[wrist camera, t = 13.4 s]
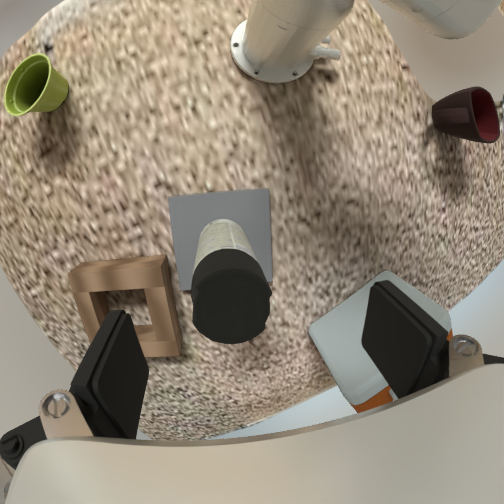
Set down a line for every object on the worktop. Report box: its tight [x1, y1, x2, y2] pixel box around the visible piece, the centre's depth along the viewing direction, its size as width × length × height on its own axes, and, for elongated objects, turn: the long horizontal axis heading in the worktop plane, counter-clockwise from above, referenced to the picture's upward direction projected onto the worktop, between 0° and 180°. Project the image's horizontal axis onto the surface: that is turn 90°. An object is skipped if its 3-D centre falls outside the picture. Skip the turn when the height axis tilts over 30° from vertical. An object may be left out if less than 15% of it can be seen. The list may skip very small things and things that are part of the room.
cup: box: [432, 87, 500, 143], centre depth 33 cm, size 10×14×12 cm
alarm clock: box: [308, 270, 453, 413], centre depth 38 cm, size 18×9×21 cm, turn 125°
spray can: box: [191, 219, 272, 344], centre depth 29 cm, size 7×7×20 cm
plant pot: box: [4, 53, 69, 116], centre depth 25 cm, size 9×9×9 cm
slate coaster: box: [168, 188, 272, 290], centre depth 39 cm, size 14×14×1 cm
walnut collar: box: [68, 255, 182, 357], centre depth 39 cm, size 15×15×5 cm
